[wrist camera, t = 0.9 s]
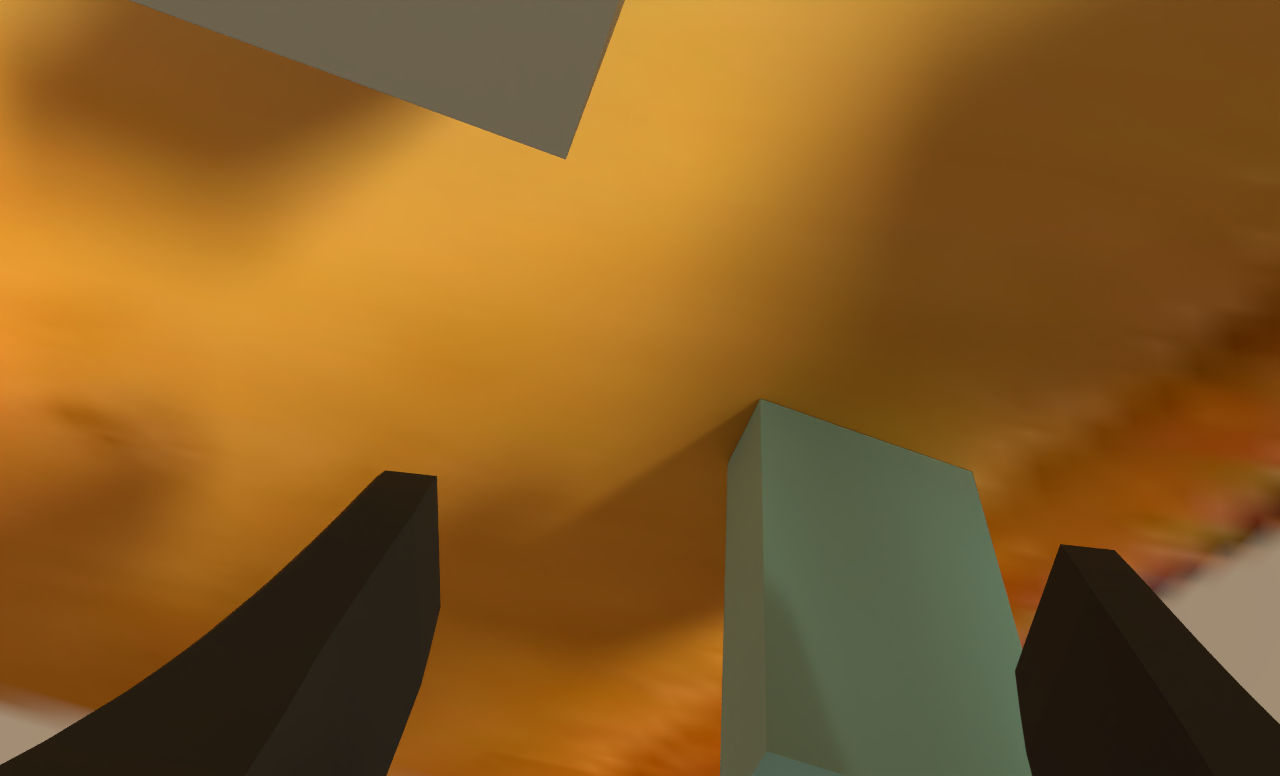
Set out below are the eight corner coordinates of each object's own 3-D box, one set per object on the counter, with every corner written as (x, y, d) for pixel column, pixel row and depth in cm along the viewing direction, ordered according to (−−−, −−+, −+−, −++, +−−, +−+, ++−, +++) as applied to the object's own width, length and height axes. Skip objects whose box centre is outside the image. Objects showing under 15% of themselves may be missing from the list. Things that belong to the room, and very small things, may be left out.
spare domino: (760, 398, 23) (766, 750, 16) (972, 472, 24) (1077, 846, 16) (727, 463, 24) (719, 826, 17) (931, 533, 25) (1014, 913, 17)
